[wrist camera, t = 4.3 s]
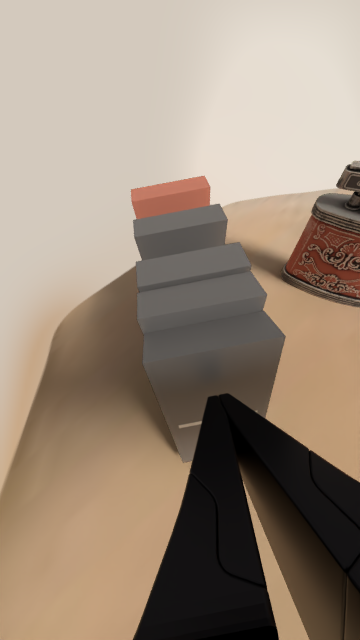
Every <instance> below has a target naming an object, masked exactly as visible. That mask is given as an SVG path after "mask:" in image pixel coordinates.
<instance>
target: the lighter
mask: <svg viewBox="0 0 360 640" xmlns="http://www.w3.org/2000/svg"><path fill="white" fill-rule="evenodd" d="M336 186H337V187H338V188H340V189H345V190H350V191H355V192H354V193H353V195H346V194H336V193H329V194H324V195H322V196H320V197H319V198H318V199H317V200H316V202H315V204H314V206H313V208H312V211H311V213H312V215H311V217H310V219H309V221H308V223H307V225H306V227H305V229H304V231H303V233H302V235H301V237H300V239H299V241H298V243H297V245H296V247H295V249H294V251H293V253H292V255H291V257H290V259H289V261H288V262H287V263H286V264H285V265H284V267H283V269H282V271H281V277H282V279H283V280H284V281H285V282H287V283H289V284H291V285H293V286H295V287H297V288H298V289H300V290H303V291H305V292H307V293H310V294H312V295H314V296H317V297H320V298H323V299H326V300H329V301H332V302H335V303H340V304H344V305H348V306H352V307H360V161H353V162H352V164H349V165H347V166H346V168H345V170H344V172H343V173H342V175H341V177H340V179H339V181H338V183H337V184H336Z"/></svg>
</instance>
